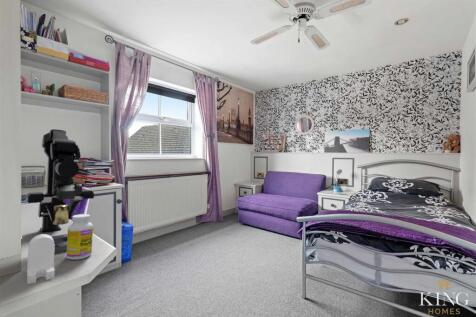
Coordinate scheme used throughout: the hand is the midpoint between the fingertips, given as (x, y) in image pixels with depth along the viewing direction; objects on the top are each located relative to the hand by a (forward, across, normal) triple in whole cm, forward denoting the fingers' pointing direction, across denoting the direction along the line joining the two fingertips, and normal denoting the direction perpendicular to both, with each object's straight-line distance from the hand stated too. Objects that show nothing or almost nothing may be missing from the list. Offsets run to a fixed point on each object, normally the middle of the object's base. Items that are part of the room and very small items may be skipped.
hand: (61, 220), depth 84 cm
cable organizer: (+9, -8, -22) cm, 25 cm away
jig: (+9, 0, 0) cm, 9 cm away
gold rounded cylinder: (+1, 0, 0) cm, 1 cm away
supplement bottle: (+9, +2, -15) cm, 18 cm away
